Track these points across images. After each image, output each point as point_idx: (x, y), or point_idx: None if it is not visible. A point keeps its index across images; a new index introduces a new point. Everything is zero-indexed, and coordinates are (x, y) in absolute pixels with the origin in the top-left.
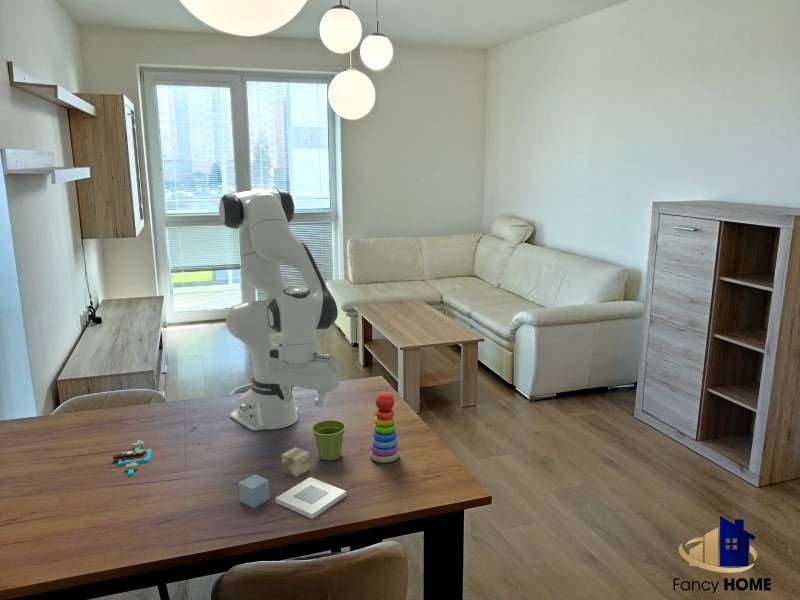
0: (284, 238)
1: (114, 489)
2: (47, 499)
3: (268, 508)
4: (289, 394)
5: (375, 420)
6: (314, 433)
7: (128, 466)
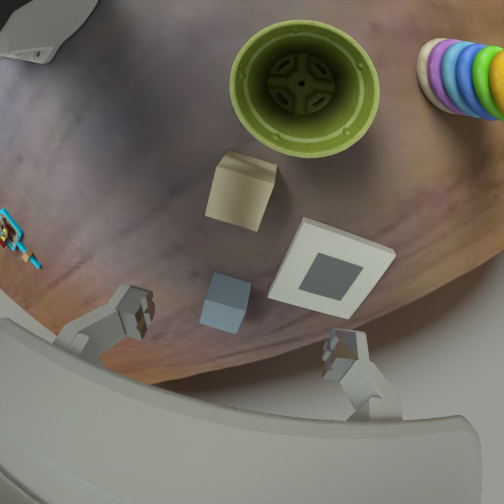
0: None
1: (57, 292)
2: (42, 311)
3: (265, 304)
4: (133, 328)
5: (501, 103)
6: (262, 133)
7: (26, 261)
